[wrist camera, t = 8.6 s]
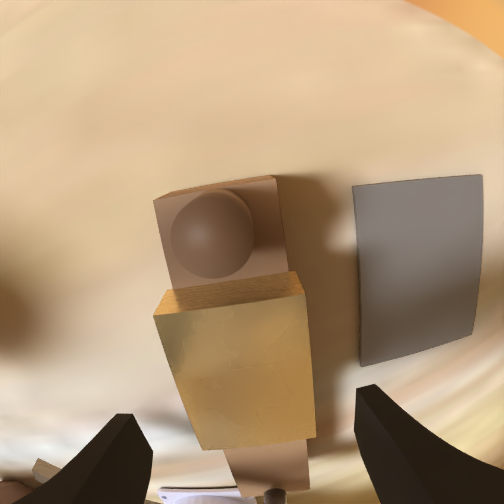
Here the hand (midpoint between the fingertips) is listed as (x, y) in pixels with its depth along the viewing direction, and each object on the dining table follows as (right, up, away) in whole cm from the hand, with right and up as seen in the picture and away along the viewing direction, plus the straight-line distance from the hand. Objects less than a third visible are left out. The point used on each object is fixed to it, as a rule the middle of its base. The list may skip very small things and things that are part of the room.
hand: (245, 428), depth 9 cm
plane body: (0, 0, +8) cm, 8 cm away
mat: (+10, +4, +7) cm, 12 cm away
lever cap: (0, +1, +4) cm, 4 cm away
